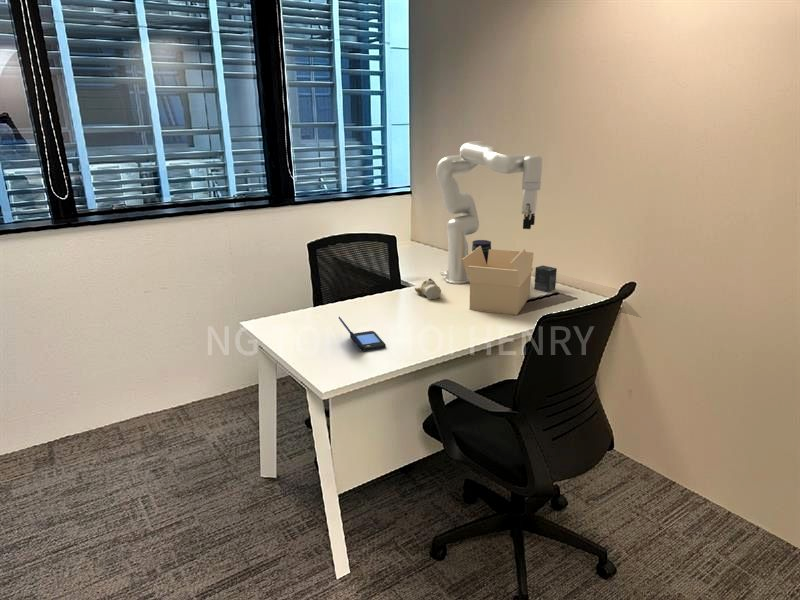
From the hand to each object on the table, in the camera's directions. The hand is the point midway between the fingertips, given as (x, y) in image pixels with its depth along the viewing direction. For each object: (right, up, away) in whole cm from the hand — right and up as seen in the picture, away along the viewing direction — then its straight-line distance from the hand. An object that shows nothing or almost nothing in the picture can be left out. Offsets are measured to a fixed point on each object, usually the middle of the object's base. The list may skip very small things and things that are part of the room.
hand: (528, 226), depth 226 cm
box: (+12, -27, +20) cm, 35 cm away
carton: (-13, -32, +4) cm, 35 cm away
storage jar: (-12, -15, +55) cm, 59 cm away
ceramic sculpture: (-42, -30, +14) cm, 53 cm away
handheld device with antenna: (-69, -47, -36) cm, 91 cm away
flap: (-4, -18, -6) cm, 19 cm away
